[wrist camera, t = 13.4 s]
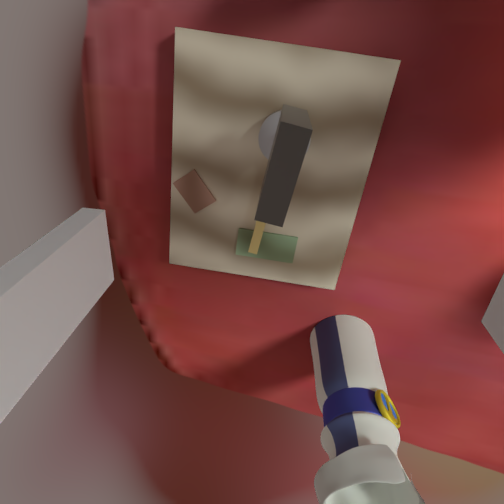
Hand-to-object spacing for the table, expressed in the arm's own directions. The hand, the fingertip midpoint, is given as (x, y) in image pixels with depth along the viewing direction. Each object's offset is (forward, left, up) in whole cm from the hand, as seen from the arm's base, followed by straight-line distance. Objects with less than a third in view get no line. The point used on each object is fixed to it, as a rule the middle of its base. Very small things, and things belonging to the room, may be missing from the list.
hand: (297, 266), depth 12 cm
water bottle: (+23, +10, -25) cm, 36 cm away
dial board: (+4, -2, -25) cm, 25 cm away
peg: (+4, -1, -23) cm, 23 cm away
